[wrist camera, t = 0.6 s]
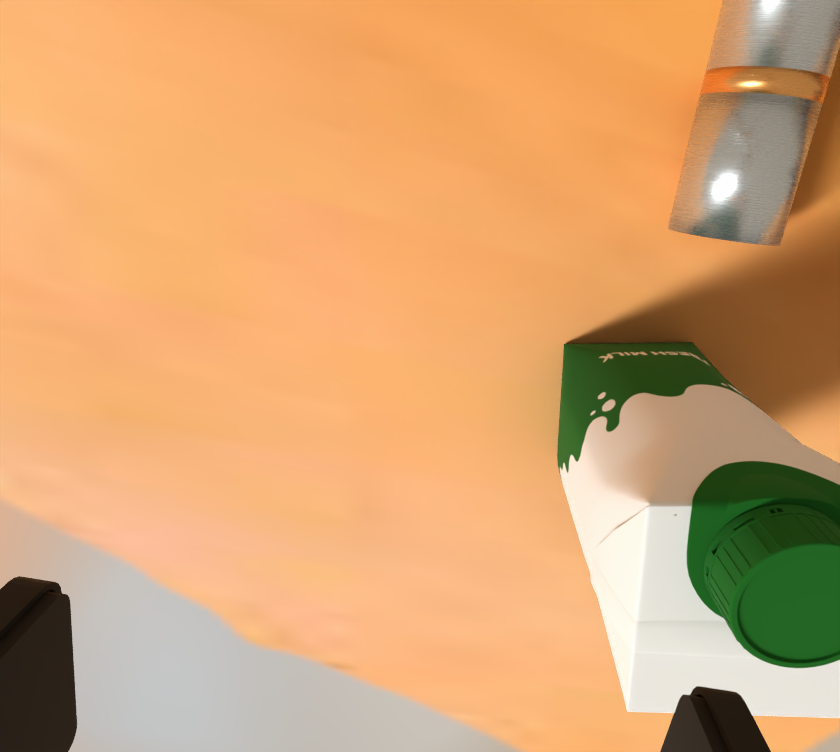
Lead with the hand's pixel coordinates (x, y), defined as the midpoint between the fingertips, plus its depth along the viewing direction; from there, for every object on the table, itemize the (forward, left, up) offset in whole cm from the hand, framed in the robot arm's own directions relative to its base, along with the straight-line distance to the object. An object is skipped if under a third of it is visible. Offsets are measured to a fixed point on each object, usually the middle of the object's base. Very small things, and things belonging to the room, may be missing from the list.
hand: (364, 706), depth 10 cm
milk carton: (+4, +11, -27) cm, 30 cm away
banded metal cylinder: (-15, +13, -24) cm, 31 cm away
